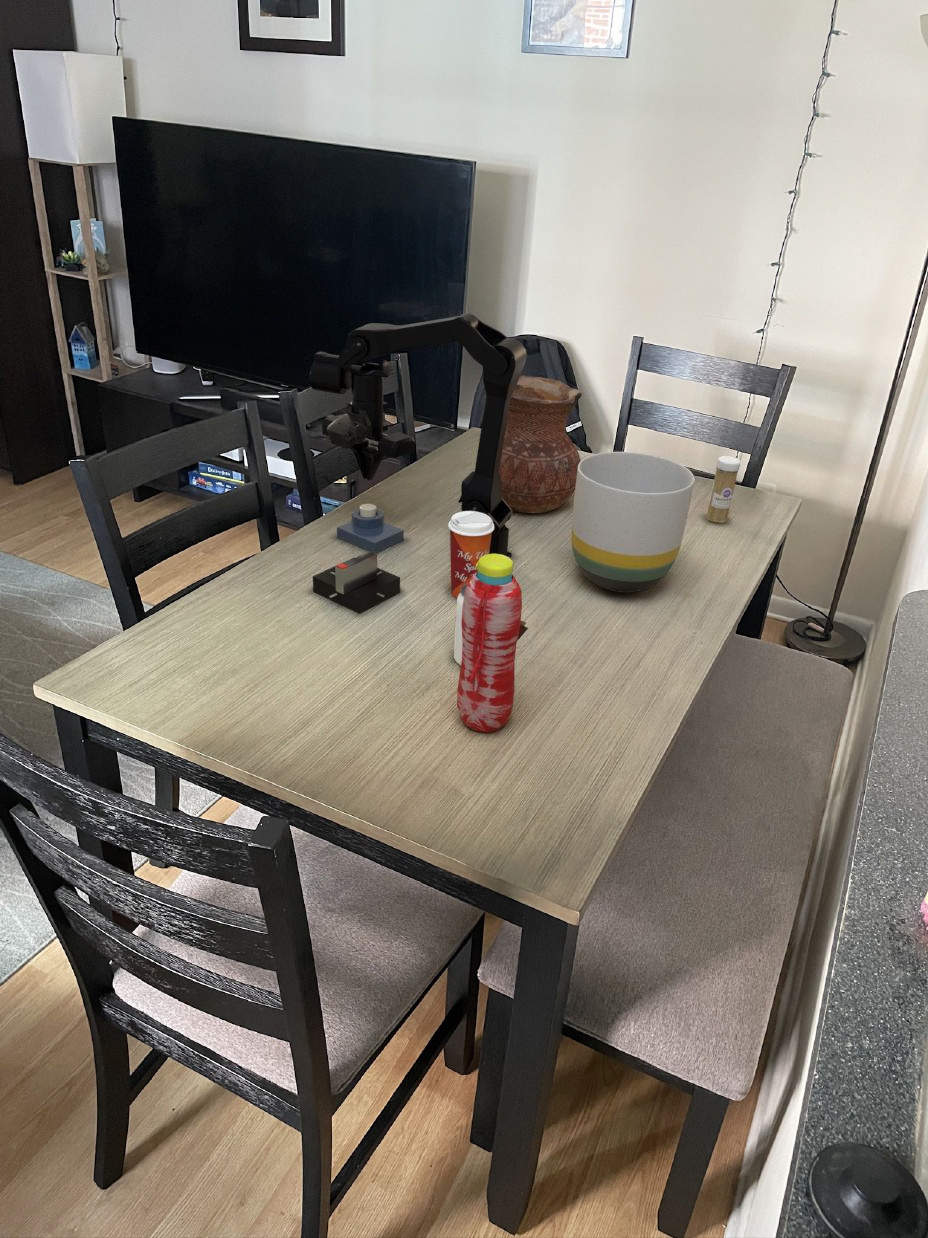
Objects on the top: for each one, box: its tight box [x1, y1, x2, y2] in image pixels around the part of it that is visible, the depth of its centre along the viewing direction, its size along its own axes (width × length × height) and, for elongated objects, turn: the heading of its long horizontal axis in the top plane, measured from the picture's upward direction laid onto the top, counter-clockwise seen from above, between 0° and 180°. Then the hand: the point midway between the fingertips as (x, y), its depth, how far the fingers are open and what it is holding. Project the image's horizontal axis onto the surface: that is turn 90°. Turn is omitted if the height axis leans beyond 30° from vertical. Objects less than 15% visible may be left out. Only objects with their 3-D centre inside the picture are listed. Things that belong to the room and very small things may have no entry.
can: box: [453, 583, 468, 667], centre depth 133 cm, size 6×6×12 cm
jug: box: [499, 375, 583, 514], centre depth 185 cm, size 22×21×25 cm
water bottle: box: [456, 554, 529, 733], centre depth 118 cm, size 12×8×25 cm, turn 153°
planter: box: [571, 451, 695, 593], centre depth 155 cm, size 20×20×21 cm
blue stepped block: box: [336, 507, 404, 554], centre depth 171 cm, size 10×9×4 cm
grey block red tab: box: [335, 551, 378, 594], centre depth 148 cm, size 8×2×5 cm, turn 141°
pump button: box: [359, 503, 377, 517], centre depth 172 cm, size 3×3×2 cm
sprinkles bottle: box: [705, 455, 741, 524], centre depth 185 cm, size 5×5×13 cm
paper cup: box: [447, 511, 494, 599], centre depth 151 cm, size 8×8×14 cm
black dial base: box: [312, 557, 401, 615], centre depth 150 cm, size 14×13×3 cm
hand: (367, 479), depth 169 cm, fingers closed
